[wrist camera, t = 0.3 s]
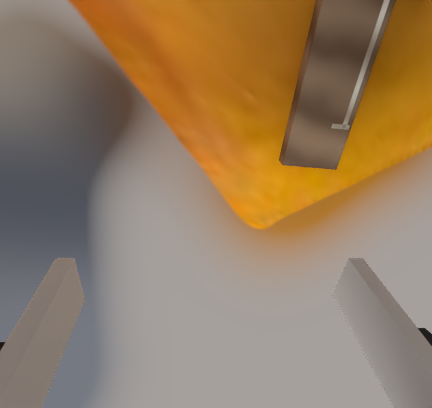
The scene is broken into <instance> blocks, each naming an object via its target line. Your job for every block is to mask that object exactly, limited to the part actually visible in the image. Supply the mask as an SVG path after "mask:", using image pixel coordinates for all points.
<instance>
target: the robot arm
mask: <svg viewBox="0 0 432 408" xmlns="http://www.w3.org/2000/svg"><path fill="white" fill-rule="evenodd" d="M332 296H333V298H334V300H335V302H336V303H337V305H338V307H339V309H340V310H341V312H342V314H343V316H344V318H345V320H346V322H347V323H348V325H349V327H350V329H351V330H352V332H353V334H354V336H355V338H356V340H357V341H358V343H359V345H360V347H361V348H362V350H363V352H364V354H365V356H366V357H367V360H368V361H369V363H370V365H371V367H372V369H373V370H374V372H375V374H376V376H377V377H378V379H379V381H380V383H381V385H382V387H383V388H384V390H385V392H386V394H387V396H388V397H389V399H390V401H391V403H392V405H393V407H394V408H432V334H431V333H430V332H429V331H428V330H426V329H425V328H417V327H416V326H415V324H414V323H413V322H412V320H411V319H410V318H409V317H408V315H407V314H406V313H405V312H404V310H403V309H402V308H401V307H400V305H399V304H398V303H397V301H396V300H395V299H394V298H393V296H392V295H391V294H390V292H389V291H388V290H387V289H386V287H385V286H384V285H383V283H382V282H381V281H380V280H379V278H378V277H377V276H376V275H375V273H374V272H373V271H372V270H371V268H370V267H369V266H368V264H367V263H366V262H365V261H364V259H361V258H356V259H354V258H349V259H348V261H347V264H346V266H345V268H344V270H343V272H342V274H341V277H340V279H339V281H338V283H337V285H336V287H335V290H334V292H333V294H332ZM84 300H85V298H84V294H83V290H82V286H81V282H80V278H79V275H78V271H77V268H76V263H75V259H74V258H56V259H55V261H54V262H53V264H52V266H51V267H50V269H49V271H48V272H47V274H46V276H45V277H44V279H43V281H42V282H41V284H40V286H39V287H38V289H37V291H36V292H35V294H34V296H33V297H32V299H31V301H30V302H29V304H28V306H27V307H26V309H25V311H24V312H23V314H22V316H21V317H20V319H19V321H18V322H17V324H16V326H15V327H14V329H13V331H12V332H11V334H10V336H9V337H8V339H7V341H6V342H0V408H42V406H43V403H44V401H45V398H46V396H47V393H48V391H49V388H50V386H51V383H52V381H53V378H54V376H55V373H56V371H57V368H58V365H59V363H60V361H61V358H62V355H63V353H64V350H65V348H66V345H67V343H68V340H69V338H70V335H71V333H72V330H73V328H74V325H75V323H76V320H77V318H78V315H79V313H80V310H81V308H82V305H83V302H84Z"/></svg>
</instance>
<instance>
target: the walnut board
mask: <svg viewBox="0 0 432 408" xmlns="http://www.w3.org/2000/svg"><path fill="white" fill-rule="evenodd" d="M395 1H396V0H316V5H315V9H314V13H313V17H312V22H311V26H310V30H309V34H308V39H307V43H306V47H305V51H304V56H303V60H302V64H301V68H300V73H299V77H298V81H297V85H296V90H295V94H294V98H293V102H292V107H291V111H290V115H289V119H288V124H287V128H286V132H285V136H284V141H283V145H282V149H281V153H280V158H279V161H280V162H281V163H282V165H288V166H300V167H312V168H324V169H335V170H336V169H337V166H338V163H339V160H340V158H341V155H342V152H343V149H344V146H345V143H346V140H347V138H348V135H349V132H350V129H351V126H352V123H353V120H354V118H355V115H356V112H357V109H358V106H359V103H360V101H361V98H362V95H363V92H364V89H365V86H366V83H367V81H368V78H369V75H370V72H371V69H372V66H373V63H374V61H375V58H376V55H377V52H378V49H379V46H380V44H381V41H382V38H383V35H384V32H385V29H386V26H387V24H388V21H389V18H390V15H391V12H392V9H393V6H394V4H395Z"/></svg>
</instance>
